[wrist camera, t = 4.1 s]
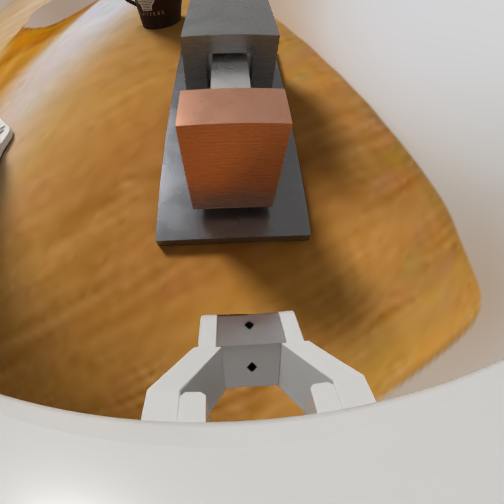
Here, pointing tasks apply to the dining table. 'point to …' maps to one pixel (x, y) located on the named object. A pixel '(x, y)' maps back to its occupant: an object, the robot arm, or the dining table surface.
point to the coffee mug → (158, 12)
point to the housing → (199, 77)
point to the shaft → (232, 137)
